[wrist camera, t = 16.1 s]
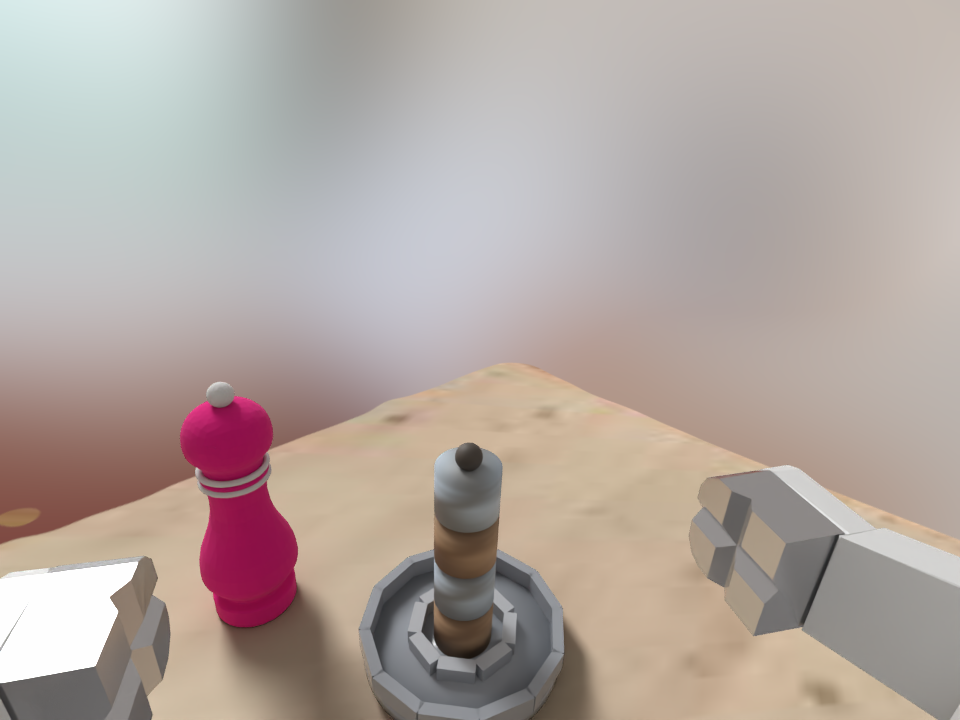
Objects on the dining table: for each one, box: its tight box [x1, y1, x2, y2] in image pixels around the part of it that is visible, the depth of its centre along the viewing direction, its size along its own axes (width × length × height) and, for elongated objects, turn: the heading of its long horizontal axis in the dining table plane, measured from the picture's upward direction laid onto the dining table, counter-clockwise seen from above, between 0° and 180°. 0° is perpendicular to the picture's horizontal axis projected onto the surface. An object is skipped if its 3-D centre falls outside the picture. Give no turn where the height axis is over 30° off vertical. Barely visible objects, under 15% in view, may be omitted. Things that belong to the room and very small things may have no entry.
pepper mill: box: [180, 382, 298, 627], centre depth 42 cm, size 7×7×20 cm
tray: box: [359, 549, 564, 720], centre depth 42 cm, size 15×15×3 cm
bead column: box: [434, 443, 502, 659], centre depth 39 cm, size 4×4×17 cm
